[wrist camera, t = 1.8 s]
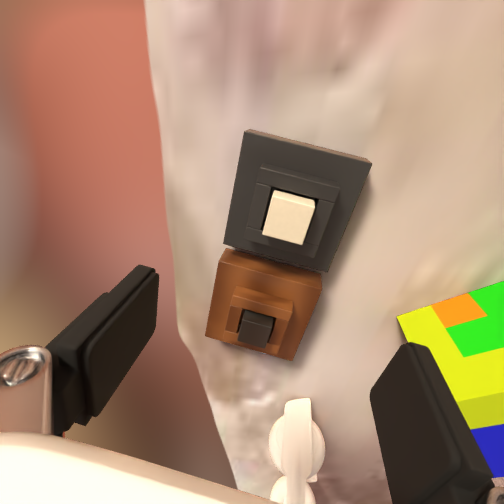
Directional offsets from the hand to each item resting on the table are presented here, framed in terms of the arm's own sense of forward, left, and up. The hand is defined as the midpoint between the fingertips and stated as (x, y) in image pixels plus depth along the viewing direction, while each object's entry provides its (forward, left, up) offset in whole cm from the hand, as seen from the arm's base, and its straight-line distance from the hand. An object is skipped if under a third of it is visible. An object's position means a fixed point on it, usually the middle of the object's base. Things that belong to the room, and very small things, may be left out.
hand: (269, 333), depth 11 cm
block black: (0, 0, -17) cm, 17 cm away
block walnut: (0, +12, -17) cm, 21 cm away
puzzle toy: (-21, +9, -17) cm, 29 cm away
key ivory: (0, 0, -14) cm, 14 cm away
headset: (-11, +34, -17) cm, 40 cm away
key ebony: (0, +12, -13) cm, 17 cm away
